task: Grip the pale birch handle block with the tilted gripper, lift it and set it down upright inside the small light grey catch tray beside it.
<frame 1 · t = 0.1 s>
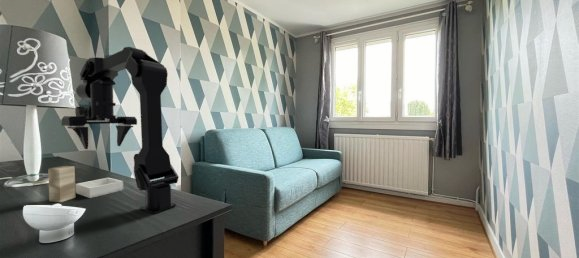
hand: (103, 147, 78), 14 cm above the table, tool pointing down, fingers open, 9 cm apart
catch tray: (100, 191, 78), on the table
birch block: (62, 199, 70), on the table
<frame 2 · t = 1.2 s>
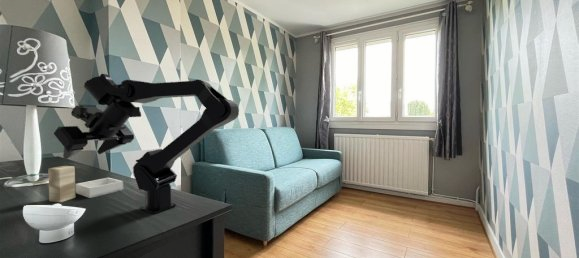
hand: (82, 155, 68), 13 cm above the table, tool tilted 45°, fingers open, 9 cm apart
nothing on the table moved.
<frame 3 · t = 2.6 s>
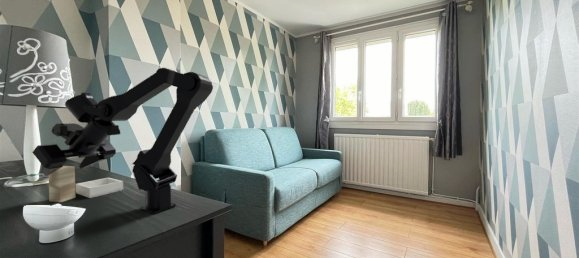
hand: (63, 170, 70), 9 cm above the table, tool tilted 45°, fingers open, 9 cm apart
nothing on the table moved.
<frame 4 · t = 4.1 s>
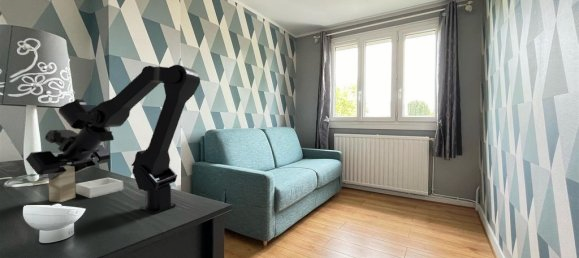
hand: (58, 176, 70), 7 cm above the table, tool tilted 45°, fingers closed on birch block, 4 cm apart
birch block: (62, 199, 70), on the table, touching gripper
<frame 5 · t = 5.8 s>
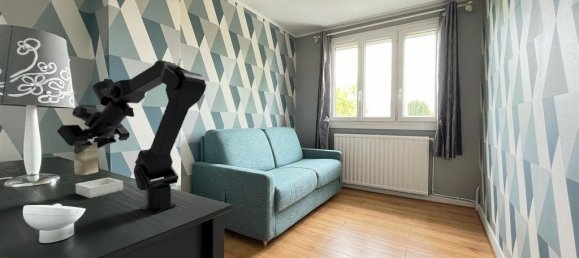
hand: (82, 151, 75), 13 cm above the table, tool tilted 45°, fingers closed on birch block, 4 cm apart
birch block: (86, 172, 75), point 7 cm above the table, touching gripper
when the fingers open (8 cm above the table, at t = 7.7 s): birch block stays where it is, resting on catch tray.
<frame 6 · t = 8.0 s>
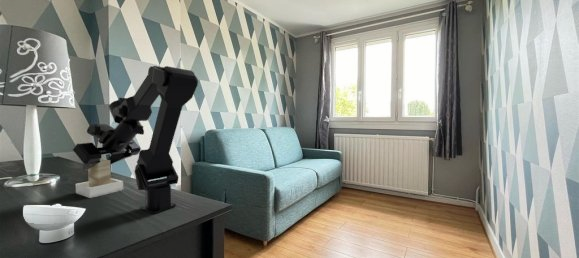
hand: (95, 166, 78), 8 cm above the table, tool tilted 45°, fingers open, 7 cm apart
birch block: (100, 189, 78), point 1 cm above the table, touching catch tray
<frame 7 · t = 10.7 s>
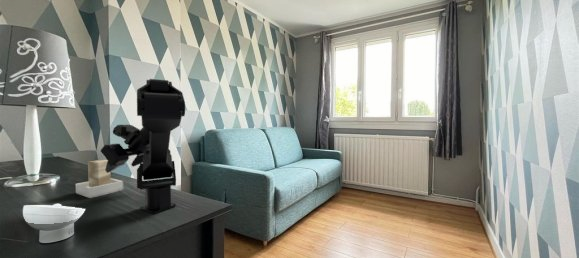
hand: (120, 168, 76), 8 cm above the table, tool tilted 45°, fingers open, 9 cm apart
nothing on the table moved.
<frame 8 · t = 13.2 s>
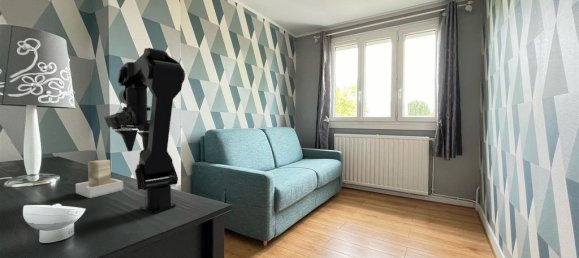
hand: (137, 152, 77), 13 cm above the table, tool pointing down, fingers open, 9 cm apart
nothing on the table moved.
at the end: birch block 0.0 cm off-centre on the catch tray, point 0.6 cm above the catch tray's base; birch block tilted 0°; the gripper is holding nothing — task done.
